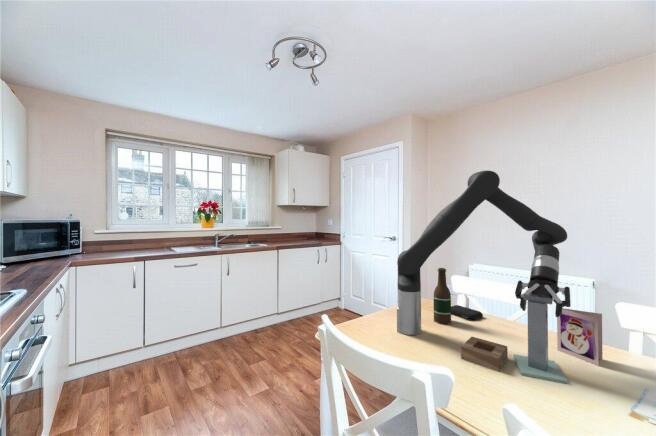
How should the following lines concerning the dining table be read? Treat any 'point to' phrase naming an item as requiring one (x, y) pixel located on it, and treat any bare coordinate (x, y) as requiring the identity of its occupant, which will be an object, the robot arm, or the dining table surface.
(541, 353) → the t key
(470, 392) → the dining table surface
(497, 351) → the socket block
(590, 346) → the greeting card
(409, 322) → the robot arm
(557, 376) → the pad
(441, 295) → the beer bottle
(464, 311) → the carrying case or bag
